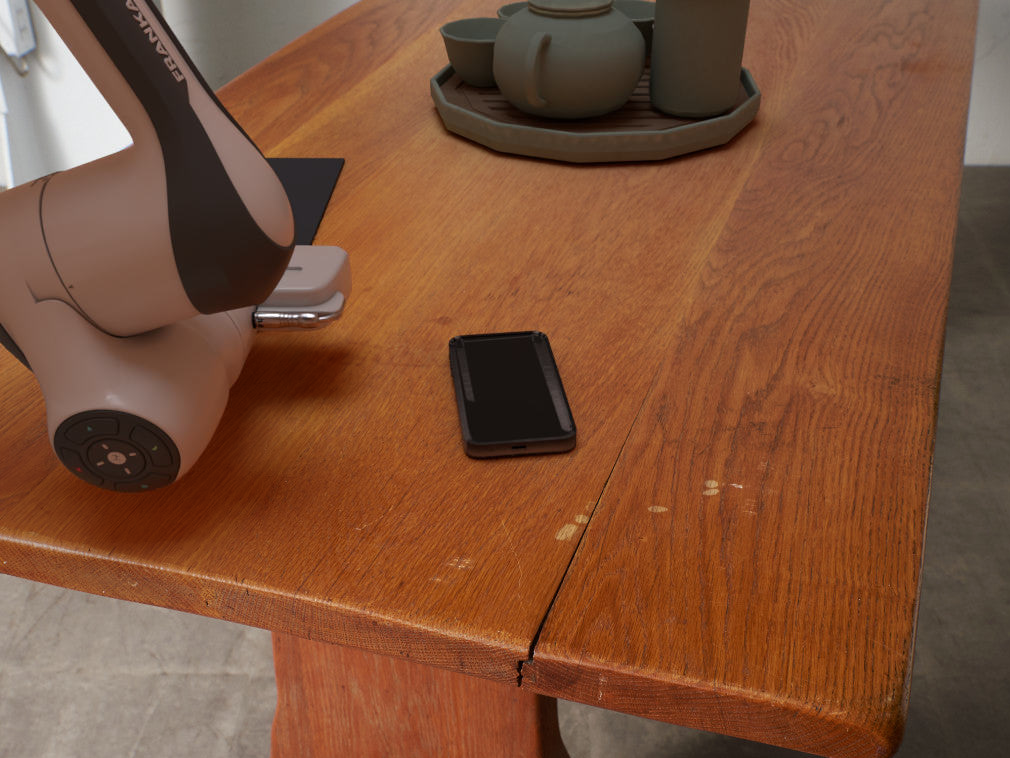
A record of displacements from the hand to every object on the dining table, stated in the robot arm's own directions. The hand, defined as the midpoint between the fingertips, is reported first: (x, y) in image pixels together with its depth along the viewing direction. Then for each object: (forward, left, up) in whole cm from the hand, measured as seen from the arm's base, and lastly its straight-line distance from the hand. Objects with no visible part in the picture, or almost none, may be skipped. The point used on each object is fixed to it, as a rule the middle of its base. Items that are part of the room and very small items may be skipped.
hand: (235, 238), depth 80 cm
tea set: (+31, +53, -7) cm, 62 cm away
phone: (+22, -13, -7) cm, 26 cm away
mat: (-6, +23, -7) cm, 25 cm away
